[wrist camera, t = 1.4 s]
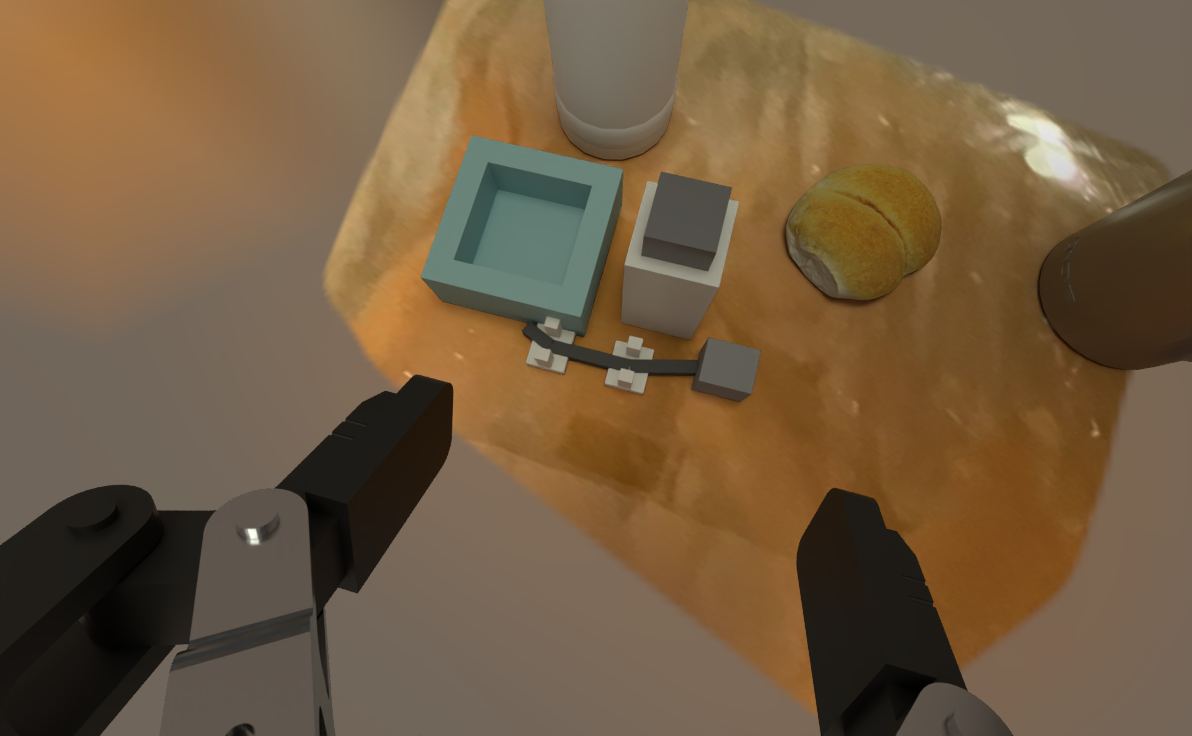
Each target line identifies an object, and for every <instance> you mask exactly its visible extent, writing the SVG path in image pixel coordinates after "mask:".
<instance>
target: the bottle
mask: <svg viewBox="0 0 1192 736" xmlns="http://www.w3.org/2000/svg"><path fill="white" fill-rule="evenodd" d="M688 3H689V0H544V6H545V13H546V20H547V27H548V35H549V42H550V49H551V56H552V63H553V71H554V77H553V81H554V90H555V97H556V104H557V110H558V114H559V115H560V121H561V127H562V128H563V130H564V132H565V133H566V135H567V137H568V139H569V140H570V142H572V143H573V144H574V145H576V146H577V147H578V148H579V149H581V150H582V151H583V152H584V153H587V154H590V155H593V156H595V157H598V158H601V159H620V160H623V159H626V158H630V157H633V156H636V155H640V154H642V153H644V152H645V151H647V150H648V149H649V148H651V147H652V146H654V145H655V144H656V143H658V141H659V140H660V138H661V137H662V135H663V134H664V132H665V131H666V130H667V128H668V124H669V119H670V116H671V112H672V108H673V103H674V99H675V94H676V89H677V80H678V79H677V72H678V66H679V59H680V53H681V47H682V41H683V34H684V28H685V22H686V15H687V9H688Z"/></svg>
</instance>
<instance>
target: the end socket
mask: <svg viewBox="0 0 1192 736" xmlns="http://www.w3.org/2000/svg"><path fill="white" fill-rule="evenodd" d="M622 189H623V169H620V168H615V167H611V166H606V165H602V164H598V163H593V162H589V161H584V160H580V159H575V158H571V157H566V156H562V155H557V154H553V153H548V152H544V151H539V150H535V149H531V148H526V147H522V146H517V145H513V144H508V143H504V142H499V141H495V140H490V139H486V138H481V137H477V136H471V139H470V142H469V145H468V147H467V150H466V153H465V156H464V158H463V161H462V164H461V167H460V169H459V172H458V175H457V178H456V181H455V183H454V186H453V189H452V192H451V194H450V197H449V200H448V203H447V205H446V208H445V211H444V214H443V217H442V219H441V222H440V225H439V228H438V230H437V233H436V236H435V239H434V241H433V244H432V247H431V250H430V253H429V255H428V258H427V261H426V264H425V266H424V269H423V272H422V275H421V278H422V279H423V281H424V282H425V283H426V284H427V285H428V286H429V287H430V288H431V289H432V290H433V292H434V293H435V294H436V295H437V296H438V297H439V298H440V299H441V300H442V301H443V302H447V303H451V304H455V305H459V306H463V307H467V308H471V309H475V310H479V311H483V312H487V313H491V314H495V315H499V316H503V317H507V318H511V319H515V320H519V321H523V322H526V323H529V322H530V321H531V322H532V323H533V324H534V325H538V323H540V324H545V321H546V317H551V318H555V319H559V320H560V322H561V325H562V328H563V329H564V330H568V331H572V332H575V334H576V335H578V336H582V337H584V336H585V332H586V329H587V325H588V322H589V318H590V315H591V311H592V308H593V304H594V301H595V297H596V294H597V290H598V287H599V283H600V280H601V276H602V273H603V269H604V266H605V262H606V259H607V255H608V251H609V248H610V244H611V241H612V237H613V234H614V230H615V227H616V223H617V220H618V216H619V213H620V209H621V206H622Z"/></svg>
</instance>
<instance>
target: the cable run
mask: <svg viewBox="0 0 1192 736" xmlns="http://www.w3.org/2000/svg"><path fill="white" fill-rule="evenodd" d="M522 332H523V334H524V335H525V336H526V337H528V338H529V339H530V340H531V341H532V345H531V348H530V351H529V354H528V358H527V361H526V364H527V365H529V366H533V367H537V368H540V369H544V370H548V371H552V372H556V373H560V374H565V371H566V367H567V364H568V360H572V361H576V362H580V363H584V364H588V365H592V366H596V367H600V368H604V369H607V370H608V373H607V377H606V380H605V385H606V386H610V387H614V388H617V389H621V390H625V391H629V392H633V393H637V394H641V395H643V392H644V388H645V384H646V380H647V376H648V375H675V376H694V381H693V385H692V390H695V391H699V392H703V393H707V394H711V395H715V396H719V397H723V398H727V399H731V400H734V401H738V402H740V401H742V400H743V399H745V398H746V397H748V396H749V395H751V394H752V390H753V385H754V380H755V376H756V371H757V366H758V361H759V357H760V352H761V350H758V349H754V348H750V347H746V346H742V345H738V344H734V343H730V342H726V341H722V340H718V339H714V338H710V337H709V338H708V339H707V341H706V342H705V344H704V345H703V347H702V349H701V351H700V355H699V359H698V360H652V357H653V353H654V350H653V349H649V348H645V347H642V342H643V339H642V338H638V337H634V336H630V337H629V340H628V343H625V342H621V341H617V340H616V343H615V347H614V351H613V354H608V353H604V352H600V351H596V350H592V349H588V348H584V347H580V346H576V345H573V343H574V339H575V336H576V334H575V332H572V331H568V330H564V329H563V328H562V325H561V322H560V320H559V319H555V318H551V317H546V321H545V324H540V323H538V325H537V326H536V325H534V324H533V323H532V322H531V321H530V322H529V323H528V325H527V326H526V327H525V328H524V329H523V330H522Z"/></svg>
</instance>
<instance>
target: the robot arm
mask: <svg viewBox="0 0 1192 736" xmlns="http://www.w3.org/2000/svg"><path fill="white" fill-rule="evenodd" d="M1040 297H1041V301H1042V305H1043V309H1044V311H1045V313H1046V315H1047V317H1048V319H1049V321H1050V323H1051V325H1052V326H1053V327H1054V329H1055V330H1056V331H1057V333H1058V334H1059V335H1060V337H1061V338H1062V339H1063V340H1064V341H1066V342H1067V343H1068V344H1069V345H1070V346H1071V347H1072V348H1073V349H1074V350H1076V351H1078V352H1079V353H1081V354H1082V355H1084V356H1085V357H1087V358H1088V359H1091V360H1093V361H1095V362H1098V363H1100V364H1103V365H1105V366H1110V367H1114V368H1118V369H1132V370H1139V369H1144V368H1151V367H1156V366H1160V365H1164V364H1169V363H1174V362H1178V361H1183V360H1184V361H1189V362H1192V170H1191V171H1189V172H1187V173H1185V174H1183V175H1181V176H1179V177H1178V178H1176V179H1174V180H1172V181H1170V182H1168V183H1167V184H1165V185H1163V186H1161V187H1159V188H1157V189H1156V190H1154V191H1152V192H1150V193H1148V194H1146V195H1145V196H1143V197H1141V198H1139V199H1137V200H1135V201H1134V202H1132V203H1130V204H1128V205H1126V206H1124V207H1122V208H1121V209H1119V210H1117V211H1115V212H1113V213H1111V214H1110V215H1108V216H1106V217H1104V218H1102V219H1100V220H1099V221H1097V222H1095V223H1093V224H1091V225H1090V226H1088V227H1086V228H1084V229H1082V230H1080V231H1079V232H1077V233H1075V234H1073V235H1071V236H1069V237H1068V238H1066V239H1065V240H1063V241H1062V242H1060V243H1059V244H1058V245H1057V246H1056V247H1055V248H1054V249H1053V250H1052V251H1051V252H1050V254H1049V255H1048V257H1047V259H1046V261H1045V263H1044V265H1043V267H1042V272H1041V276H1040ZM452 416H453V386H452V384H451V383H448V382H444V381H440V380H436V379H433V378H429V377H425V376H422V375H414V376H413V377H412V378H411V379H410V380H409V381H408V382H407V383H406V384H405V385H404V386H403V387H402V388H401V389H400V390H399V392H398V393H397V394H396V393H392V392H388V391H384V392H382V393H380V394H378V395H376V396H374V397H372V398H370V399H368V400H366V401H364V402H362V403H361V404H360V405H359V406H358V407H357V408H356V409H355V410H354V411H353V412H352V413H351V414H350V415H349V416H348V417H347V418H346V420H345V422H342V423H341V424H339V425H338V427H337V428H335V429H334V430H333V432H332V435H328V436H327V437H326V438H325V439H324V440H323V441H322V442H321V443H320V444H319V445H318V446H317V447H316V448H315V449H314V450H313V451H312V452H311V453H310V454H309V455H308V456H307V457H306V458H305V459H304V460H303V461H302V462H301V463H300V464H299V465H298V466H297V467H296V468H295V469H294V470H293V471H292V472H291V473H290V474H289V475H288V476H287V477H286V478H285V479H284V480H283V481H282V482H281V483H280V484H279V485H278V486H277V487H275V488H274V489H260V490H256V491H251V492H248V493H245V494H242V495H240V496H238V497H236V498H233V499H232V500H230V501H228V502H227V503H225V504H224V505H223V506H221V507H220V508H219V509H218V510H214V511H159V510H158V511H157V509H156V506H155V504H154V501H153V499H152V497H151V495H150V494H149V493H148V492H147V491H145V490H143V489H141V488H139V487H136V486H130V485H110V486H104V487H98V488H94V489H90V490H87V491H84V492H81V493H78V494H76V495H74V496H71V497H69V498H67V499H65V500H63V501H62V502H60V503H58V504H56V505H55V506H53V507H52V508H50V509H49V510H47V511H46V512H45V513H43V514H42V515H41V516H39V517H38V518H37V519H35V520H34V521H33V522H31V523H30V524H29V525H27V526H26V527H25V528H23V529H22V530H20V531H19V532H18V533H17V534H15V535H14V536H12V537H11V538H10V539H8V540H7V541H6V542H4V543H3V544H2V545H0V736H100V735H101V733H102V732H103V731H104V730H105V729H106V728H107V726H108V725H109V724H110V723H111V721H112V720H113V719H114V718H115V717H116V716H117V715H118V713H119V712H120V711H121V710H122V709H123V707H124V706H125V705H126V704H127V703H128V701H129V700H130V699H131V698H132V697H133V695H134V694H135V693H136V692H137V691H138V689H139V688H140V687H141V685H143V684H144V682H145V681H146V680H147V679H148V678H149V676H150V675H151V674H152V673H153V672H154V670H155V669H156V668H157V667H158V666H159V664H160V663H161V662H162V661H163V660H164V658H165V657H166V656H167V655H168V654H169V652H170V651H171V650H172V649H173V647H175V645H179V644H189V645H188V648H187V650H185V651H182V652H179V653H177V654H176V656H175V658H174V660H173V662H172V665H171V669H170V673H169V678H168V684H167V690H166V698H165V704H164V710H163V717H162V723H161V730H160V736H335V728H334V720H333V710H332V698H331V683H330V670H329V655H328V641H327V628H326V613H325V605H326V603H327V602H328V600H329V599H330V598H331V596H332V595H333V593H334V592H335V591H336V589H337V588H342V589H345V590H348V591H351V592H355V593H358V592H359V591H360V589H361V588H362V586H363V585H364V583H365V582H366V580H367V579H368V577H369V576H370V574H371V573H372V571H373V570H374V568H375V567H376V565H377V564H378V562H379V561H380V559H381V558H382V556H383V555H384V553H385V552H386V550H387V549H388V547H389V546H390V544H391V543H392V541H393V540H394V538H395V537H396V535H397V534H398V532H399V531H400V529H401V528H402V526H403V525H404V523H405V522H406V520H407V518H408V517H409V516H410V514H411V513H412V511H413V510H414V508H415V507H416V505H417V504H418V502H419V501H420V499H421V498H422V496H423V495H424V493H425V492H426V490H427V489H428V487H429V486H430V484H431V483H432V481H433V479H434V478H435V477H436V475H437V474H438V472H439V471H440V469H441V468H442V466H443V464H444V462H445V460H446V458H447V456H448V452H449V449H450V446H451V440H452ZM796 565H797V574H798V580H799V587H800V594H801V601H802V608H803V615H804V622H805V629H806V636H807V643H808V650H809V656H810V663H811V670H812V677H813V684H814V691H815V698H816V705H817V712H818V719H819V726H820V732H821V736H1013V734H1012V733H1011V731H1010V730H1009V728H1008V727H1007V726H1006V725H1005V723H1004V722H1003V721H1002V720H1001V718H1000V717H999V716H998V715H997V714H996V713H995V712H994V711H993V710H992V709H991V708H990V707H989V706H988V705H986V704H985V703H984V702H983V701H981V700H980V699H979V698H977V697H976V696H975V695H973V694H971V693H970V692H968V690H967V688H966V686H965V683H964V680H963V678H962V675H961V672H960V670H959V667H958V665H957V662H956V659H955V657H954V654H953V652H952V649H951V646H950V644H949V641H948V638H947V636H946V633H945V631H944V628H943V625H942V623H941V620H940V618H939V615H938V612H937V610H936V608H935V607H933V599H932V597H931V594H930V591H929V589H928V586H925V578H924V576H923V573H922V571H921V568H920V565H919V563H918V560H917V557H916V555H915V554H914V553H913V552H912V550H911V549H910V548H909V546H908V545H907V544H906V543H905V541H904V540H903V539H902V537H901V536H900V535H899V534H898V532H897V531H893V530H890V529H886V526H885V523H884V521H883V518H882V515H881V512H880V509H879V506H878V504H877V502H876V500H875V499H874V498H871V497H867V496H864V495H860V494H856V493H853V492H849V491H845V490H841V489H838V488H833V489H831V490H830V491H829V492H828V493H827V495H826V496H825V498H824V500H823V501H822V503H821V505H820V507H819V508H818V510H817V512H816V513H815V515H814V517H813V519H812V520H811V522H810V524H809V525H808V527H807V529H806V531H805V532H804V534H803V536H802V538H801V540H800V543H799V547H798V551H797V561H796Z"/></svg>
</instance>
